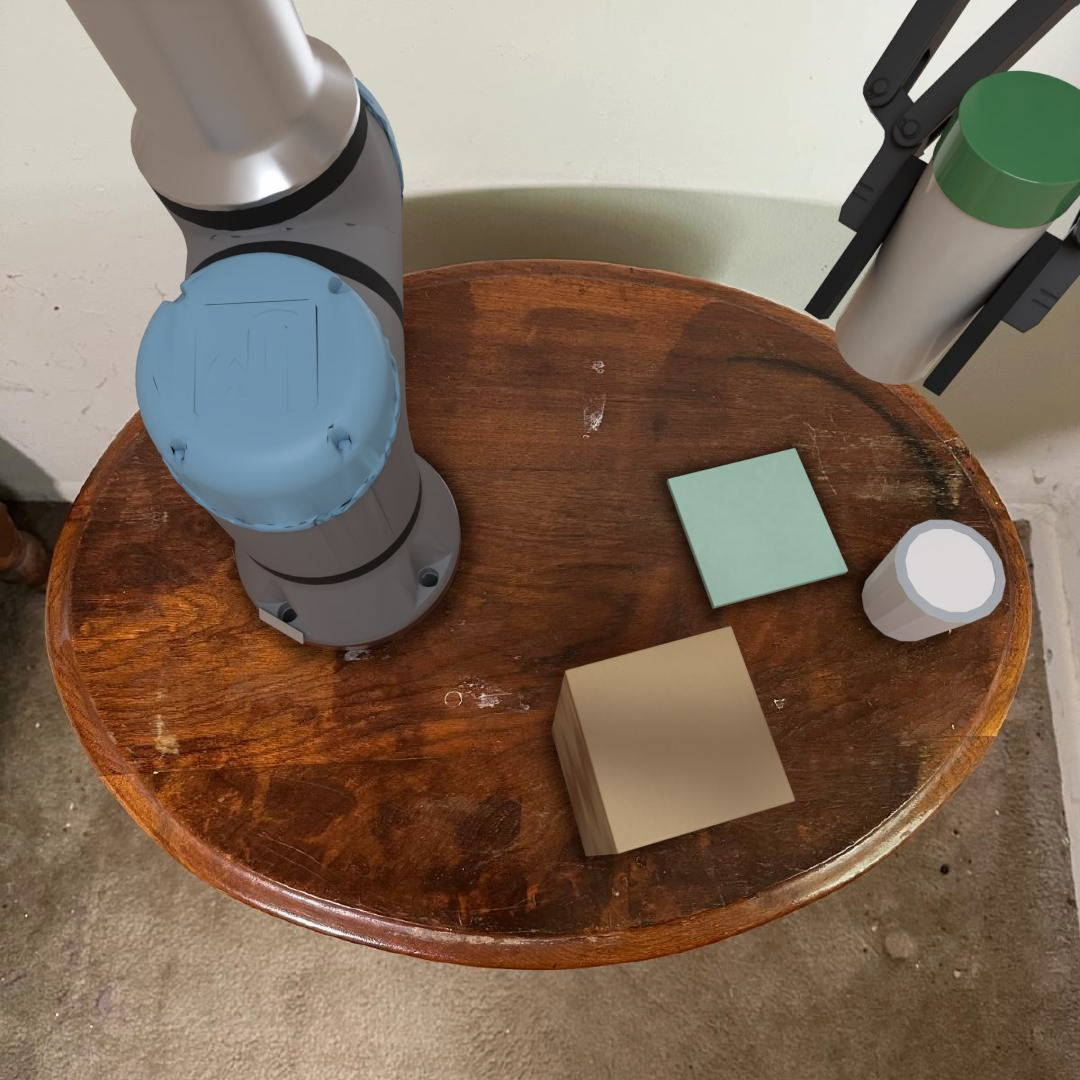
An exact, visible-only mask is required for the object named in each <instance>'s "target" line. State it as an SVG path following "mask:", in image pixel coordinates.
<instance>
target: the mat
mask: <svg viewBox="0 0 1080 1080" xmlns="http://www.w3.org/2000/svg"><path fill="white" fill-rule="evenodd" d="M666 485H667V488H668V490H669V494H670V496H671V499H672V501H673V505H674V507H675V510H676V512H677V515H678V519H679V520H680V523H681V526H682V529H683V532H684V535H685V537H686V541H687V543H688V545H689V548H690V551H691V554H692V557H693V559H694V562H695V565H696V568H697V571H698V573H699V576H700V579H701V582H702V584H703V587H704V589H705V592H706V596H707V597H708V600H709V603H710V606H711V608H712V609H713V610H714V609H717V608H720V607H725V606H728V605H732V604H735V603H741V602H744V601H748V600H751V599H755V598H759V597H762V596H766V595H770V594H774V593H776V592H777V593H778V592H781V591H785V590H789V589H792V588H797V587H800V586H803V585H807V584H812V583H816V582H819V581H823V580H826V579H830V578H835V577H837V576H842V575H845V574H846V573H848V572H849V569H848V567H847V565H846V562H845V560H844V558H843V556H842V553H841V551H840V548H839V546H838V543H837V541H836V538H835V537H834V534H833V533H832V530H831V528H830V525H829V523H828V520H827V518H826V516H825V515H824V514H825V513H824V511H823V509H822V506H821V504H820V503H819V500H818V498H817V495H816V494H815V491H814V488H813V486H812V483H811V481H810V478H809V477H808V474H807V472H806V470H805V468H804V464H803V463H802V461H801V458H800V456H799V454H798V451H797V449H796V447H793V448H790V449H785V450H782V451H777V452H772V453H769V454H765V455H760V456H757V457H753V458H749V459H744V460H741V461H736V462H732V463H729V464H724V465H720V466H715V467H712V468H708V469H704V470H699V471H696V472H691V473H686V474H683V475H679V476H674V477H670V478H667V480H666Z"/></svg>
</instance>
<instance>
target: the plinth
mask: <svg viewBox="0 0 1080 1080" xmlns="http://www.w3.org/2000/svg"><path fill="white" fill-rule="evenodd" d="M561 682H562V683H561V688H560V691H559V696H558V699H557V704H556V709H555V713H554V717H553V721H552V726H551V729H550V730H551V735H552V738H553V742H554V745H555V749H556V753H557V756H558V760H559V764H560V767H561V770H562V775H563V778H564V783H565V785H566V789H567V793H568V796H569V799H570V804H571V807H572V811H573V815H574V818H575V822H576V825H577V828H578V833H579V836H580V840H581V844H582V848H583V850H584V854H585V857H593V856H607V855H616V854H623V853H626V852H629V851H632V850H636V849H639V848H642V847H645V846H649V845H652V844H656V843H659V842H663V841H666V840H669V839H673V838H676V837H679V836H683V835H686V834H690V833H693V832H696V831H699V830H704V829H707V828H709V827H710V828H711V827H713V826H716V825H720V824H723V823H726V822H730V821H733V820H736V819H740V818H743V817H747V816H750V815H753V814H756V813H760V812H763V811H767V810H770V809H774V808H777V807H779V806H783V805H787V804H790V803H794V802H795V801H796V798H795V795H794V792H793V789H792V787H791V784H790V782H789V779H788V777H787V774H786V771H785V768H784V765H783V763H782V760H781V757H780V755H779V752H778V750H777V747H776V744H775V741H774V738H773V735H772V734H771V730H770V728H769V724H768V722H767V719H766V717H765V714H764V712H763V709H762V706H761V702H760V701H759V698H758V695H757V692H756V689H755V687H754V683H753V681H752V680H751V677H750V674H749V671H748V668H747V666H746V663H745V659H744V657H743V655H742V652H741V650H740V646H739V643H738V641H737V638H736V635H735V633H734V631H733V627H732V626H725V627H722V628H718V629H714V630H710V631H707V632H703V633H699V634H696V635H691V636H688V637H685V638H681V639H677V640H673V641H670V642H666V643H663V644H659V645H654V646H651V647H647V648H644V649H643V648H642V649H640V650H636V651H632V652H629V653H625V654H620V655H617V656H613V657H610V658H606V659H603V660H599V661H595V662H591V663H588V664H584V665H581V666H577V667H573V668H569V669H566V670H565V671H564V674H563V679H562V681H561Z"/></svg>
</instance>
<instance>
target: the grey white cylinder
mask: <svg viewBox="0 0 1080 1080" xmlns="http://www.w3.org/2000/svg"><path fill="white" fill-rule="evenodd" d="M1002 561H1003V560H1002V559H1001V558H1000V556H999V553H998V552H997V551H996V550H995V547H994V546H993V545H992V543H991V542H990V541H989V540H988V539H986V538H985V537H984V536H983V535H982V534H981V533H979V532H978V531H976V529H974V528H973V527H972V526H969V525H966V524H963V523H961V522H958V521H955V520H952V519H929V520H926V521H923V522H921V523H918V524H916V525H914V526H913V525H912V526H911V527H910V529H908V530H907V532H906V533H905V534H904V535H903V536H902V537H901V539H900V540H898V542H897V543H896V544H895V545H894V546H893V548H892V549H891V550H890V551H889V552H888V554H887V555H886V556H885V557H884V558H883V559H882V561H880V563H879V564H878V565H877V567H876V568H874V570H873V571H872V573H871V574H869V576H868V577H867V579H865V582H864V585H863V589H862V592H861V598H862V606H863V607H862V608H863V611H864V613H865V614H866V616H867V617H868V619H869V621H870V623H871V625H873V626H874V627H875V629H877V630H878V631H879V632H881V633H882V634H883V635H885V636H886V637H889V638H892V639H894V640H897V641H899V642H918V641H921V640H924V639H926V638H930V637H934V636H936V635H939V634H942V633H944V632H948V631H950V630H953V629H957V628H959V627H962V626H965V625H968V624H971V623H973V622H976V621H978V620H980V619H984V618H985V617H987V616H990V615H991V613H992V612H993V611H995V609H996V607H997V606H998V605H999V604H1000V603H1001V602H1002V600H1003V596H1004V592H1005V591H1004V590H1005V587H1006V582H1007V580H1006V575H1005V570H1004V566H1003V562H1002Z"/></svg>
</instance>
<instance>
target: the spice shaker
mask: <svg viewBox="0 0 1080 1080" xmlns="http://www.w3.org/2000/svg"><path fill="white" fill-rule="evenodd" d="M927 163H928V164H927V166H926V168H925V170H924V171H923V173H922V175H921V176H920V178H919V180H918V182H917V183H916V185H915V187H914V189H913V190H912V192H911V194H910V195H909V197H908V199H907V201H906V202H905V204H904V206H903V208H902V209H901V211H900V213H899V215H898V216H897V218H896V220H895V221H894V223H893V225H892V227H891V228H890V230H889V232H888V234H887V235H886V237H885V239H884V240H883V242H882V244H881V245H880V246H879V248H878V249H877V251H876V252H875V254H874V255H873V257H872V258H871V260H870V263H869V264H868V266H867V268H866V270H865V271H864V273H863V275H862V277H861V278H860V280H859V282H858V283H857V286H856V287H855V289H854V290H853V292H852V294H851V296H850V297H849V300H848V301H847V303H846V304H845V306H844V308H843V309H842V311H841V313H840V314H839V316H838V318H837V321H836V324H835V329H834V338H835V343H836V347H837V350H838V352H839V354H840V356H841V358H842V359H843V360H844V362H845V363H846V364H847V365H848V366H849V367H850V368H851V369H852V370H853V371H855V372H856V373H857V374H859V375H860V376H862V377H864V378H866V379H868V380H870V381H873V382H875V383H879V384H883V385H884V384H885V385H891V386H894V385H899V386H900V385H907V384H910V383H914V382H916V381H918V380H921V379H922V378H924V377H925V376H927V375H929V374H930V373H931V372H932V371H933V369H934V368H935V367H936V366H937V364H938V363H939V362H940V361H941V359H942V358H943V357H944V356H945V354H946V353H947V352H948V350H949V349H950V348H951V347H952V345H953V344H954V343H955V342H956V340H957V339H958V338H959V337H960V335H961V334H962V333H963V332H964V330H965V329H966V328H967V327H968V325H969V324H970V323H971V322H972V320H973V319H974V318H975V317H976V315H977V314H978V313H979V311H980V310H981V309H982V308H983V306H984V305H985V304H986V303H987V302H988V300H989V299H990V298H991V297H992V295H993V294H994V293H995V292H996V291H997V289H998V288H999V287H1000V286H1001V285H1002V283H1003V282H1004V281H1005V280H1006V279H1007V277H1008V276H1009V275H1010V274H1011V273H1012V271H1013V270H1014V269H1015V268H1016V266H1017V265H1018V264H1019V263H1020V262H1021V260H1022V259H1023V258H1024V257H1025V256H1026V254H1027V253H1028V252H1029V251H1030V250H1031V248H1032V247H1033V246H1034V245H1035V244H1036V242H1037V241H1038V240H1039V239H1040V237H1041V236H1042V235H1043V234H1044V233H1045V232H1046V231H1047V232H1048V229H1049V228H1050V227H1051V226H1052V225H1053V224H1054V223H1055V221H1056V220H1058V219H1059V218H1061V217H1062V216H1063V215H1065V213H1066V212H1067V211H1068V210H1069V209H1070V208H1071V207H1072V205H1074V203H1075V202H1076V201H1077V199H1078V198H1079V197H1080V88H1078V87H1077V86H1075V85H1074V84H1071V82H1068V81H1066V80H1063V79H1062V78H1059V77H1057V76H1053V75H1050V74H1046V73H1042V72H1038V71H1031V70H1008V71H1006V72H1000V73H996V74H992V75H990V76H987V77H985V78H983V79H981V80H979V81H978V82H977V83H975V84H974V85H973V86H971V87H970V88H969V90H968V91H967V92H966V93H965V95H964V96H963V98H962V99H961V101H960V103H959V105H958V106H957V108H956V110H955V112H954V113H953V115H952V117H951V119H950V120H949V122H948V124H947V126H946V127H945V129H944V131H943V133H942V134H941V135H940V136H939V137H938V139H937V142H936V143H935V145H934V147H933V151H932V156H931V158H930V159H929V161H928V162H927Z"/></svg>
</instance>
